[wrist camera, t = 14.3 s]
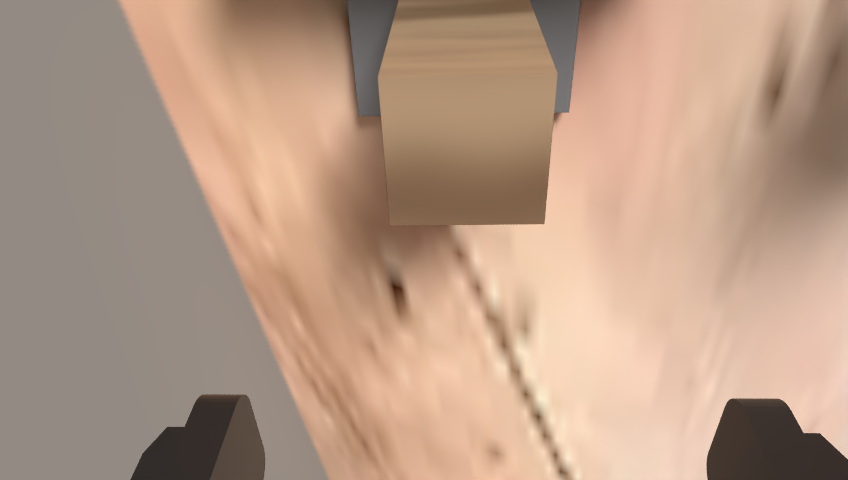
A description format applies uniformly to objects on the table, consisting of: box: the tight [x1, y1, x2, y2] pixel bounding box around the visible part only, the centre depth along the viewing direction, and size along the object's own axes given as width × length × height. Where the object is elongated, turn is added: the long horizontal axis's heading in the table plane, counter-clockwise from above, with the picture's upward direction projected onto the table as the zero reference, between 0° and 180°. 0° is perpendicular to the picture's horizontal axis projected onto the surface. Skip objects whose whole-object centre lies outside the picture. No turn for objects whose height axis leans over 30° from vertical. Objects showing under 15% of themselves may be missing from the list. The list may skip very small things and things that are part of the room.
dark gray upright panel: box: [347, 0, 581, 116], centre depth 28 cm, size 7×10×1 cm
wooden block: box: [378, 0, 558, 226], centre depth 24 cm, size 5×5×11 cm
